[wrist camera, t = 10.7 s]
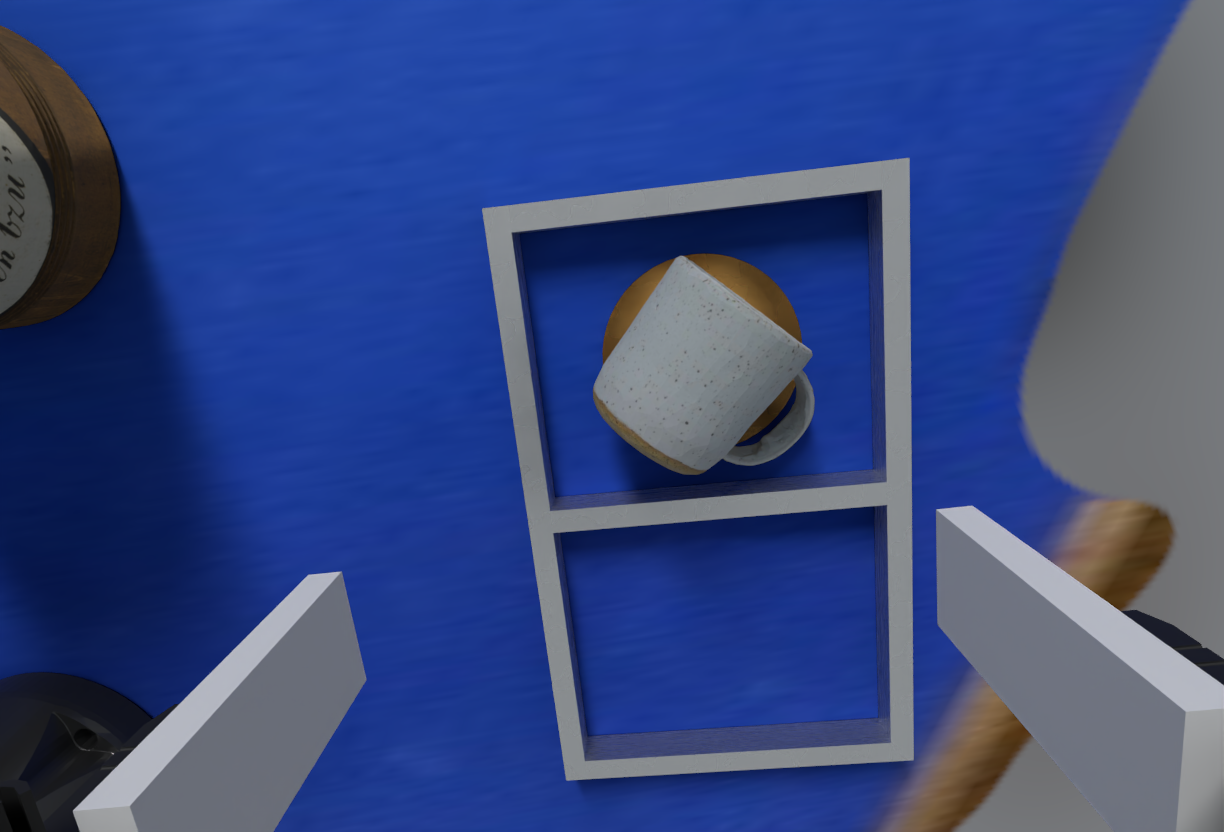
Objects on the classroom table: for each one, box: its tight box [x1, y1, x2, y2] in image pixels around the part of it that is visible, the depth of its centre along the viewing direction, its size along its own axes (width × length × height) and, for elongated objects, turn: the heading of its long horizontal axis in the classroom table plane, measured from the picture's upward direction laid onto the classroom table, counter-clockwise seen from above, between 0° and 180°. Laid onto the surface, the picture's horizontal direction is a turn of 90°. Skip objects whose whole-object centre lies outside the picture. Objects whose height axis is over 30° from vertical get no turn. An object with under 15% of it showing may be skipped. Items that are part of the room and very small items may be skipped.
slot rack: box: [482, 158, 914, 780], centre depth 35 cm, size 19×31×2 cm, turn 6°
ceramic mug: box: [593, 256, 814, 475], centre depth 31 cm, size 10×8×7 cm
